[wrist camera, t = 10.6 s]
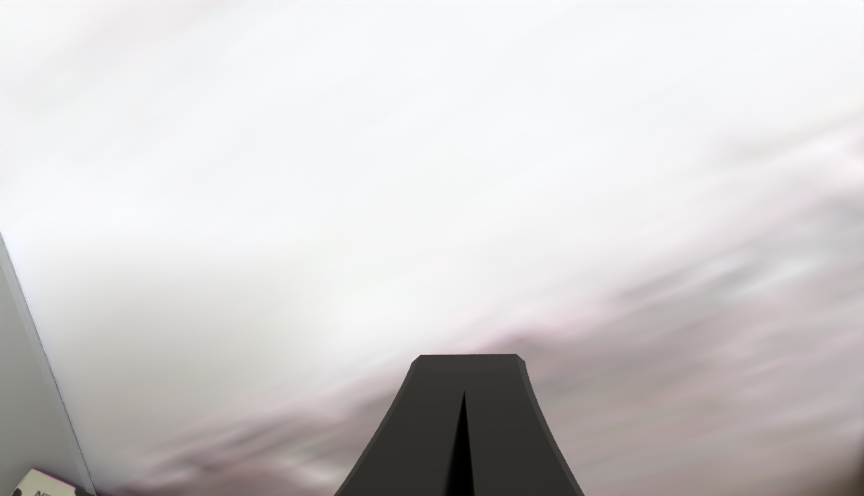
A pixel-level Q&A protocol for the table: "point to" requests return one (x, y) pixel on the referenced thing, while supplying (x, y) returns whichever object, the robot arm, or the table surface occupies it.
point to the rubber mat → (30, 399)
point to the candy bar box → (45, 486)
